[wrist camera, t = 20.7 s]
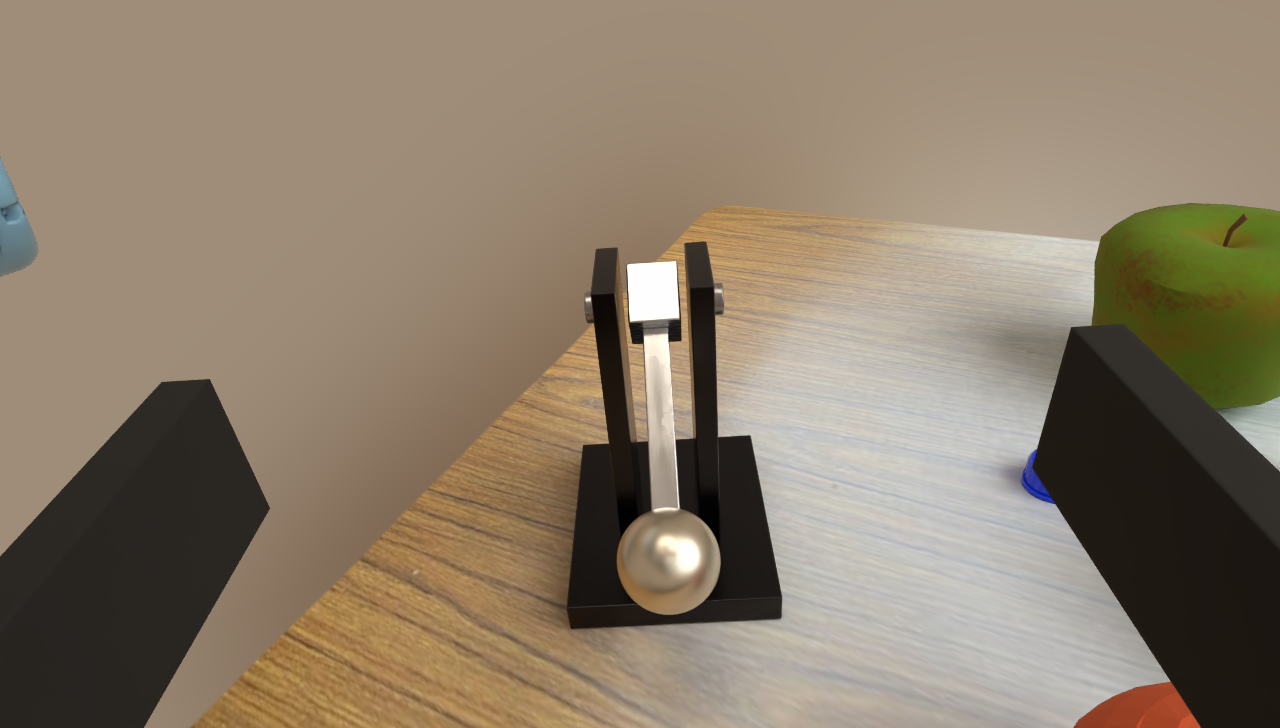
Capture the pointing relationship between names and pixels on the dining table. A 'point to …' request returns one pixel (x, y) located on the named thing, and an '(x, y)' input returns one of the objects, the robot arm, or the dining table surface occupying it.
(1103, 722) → the tomato
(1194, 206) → the apple
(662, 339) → the lever
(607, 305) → the tap bracket
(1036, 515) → the dining table surface
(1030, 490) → the bottle cap
